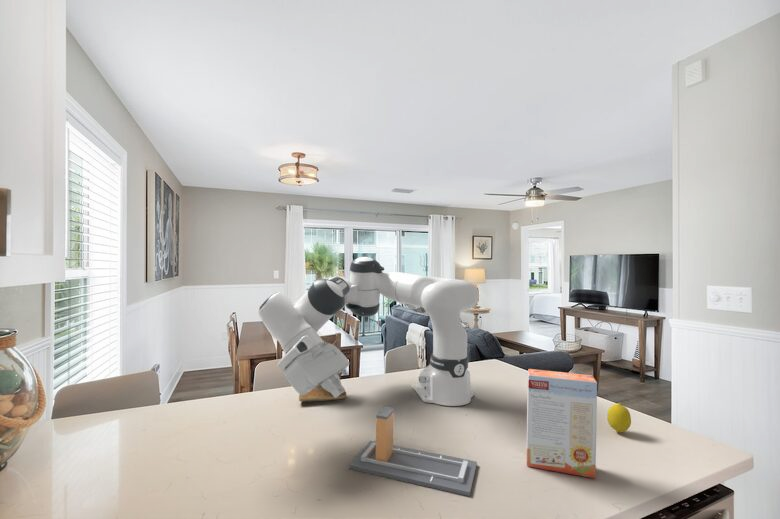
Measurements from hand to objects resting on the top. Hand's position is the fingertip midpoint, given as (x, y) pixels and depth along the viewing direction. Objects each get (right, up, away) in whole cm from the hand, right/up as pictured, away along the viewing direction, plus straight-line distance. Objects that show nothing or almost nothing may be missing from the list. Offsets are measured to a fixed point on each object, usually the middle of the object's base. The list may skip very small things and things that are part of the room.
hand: (340, 394), depth 90 cm
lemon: (+74, -15, +14) cm, 77 cm away
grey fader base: (+17, -14, -6) cm, 23 cm away
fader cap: (+10, -14, -3) cm, 18 cm away
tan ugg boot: (-10, -13, +34) cm, 38 cm away
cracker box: (+50, -15, -4) cm, 52 cm away
